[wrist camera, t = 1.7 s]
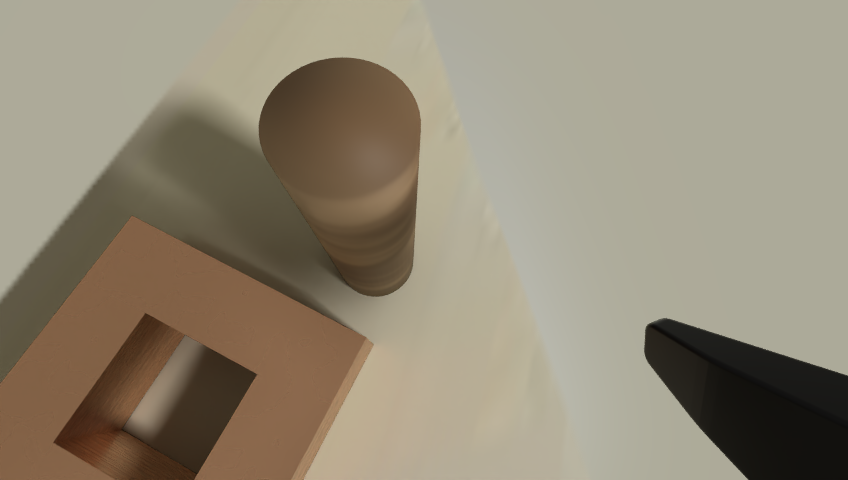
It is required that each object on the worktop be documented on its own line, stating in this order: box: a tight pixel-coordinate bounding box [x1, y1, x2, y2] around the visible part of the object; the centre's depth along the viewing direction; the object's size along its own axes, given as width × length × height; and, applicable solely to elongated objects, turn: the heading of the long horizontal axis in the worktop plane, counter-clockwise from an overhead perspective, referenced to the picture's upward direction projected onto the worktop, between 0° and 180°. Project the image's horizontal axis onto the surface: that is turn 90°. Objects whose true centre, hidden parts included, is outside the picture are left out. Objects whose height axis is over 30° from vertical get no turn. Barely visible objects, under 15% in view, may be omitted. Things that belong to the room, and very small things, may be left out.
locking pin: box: [259, 58, 421, 296], centre depth 17 cm, size 4×4×13 cm
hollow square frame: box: [0, 216, 374, 480], centre depth 18 cm, size 12×12×4 cm
